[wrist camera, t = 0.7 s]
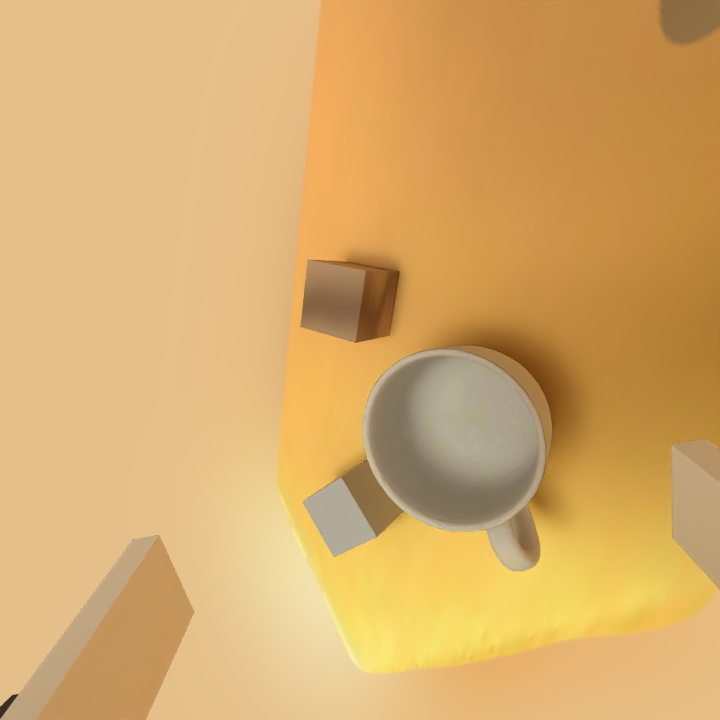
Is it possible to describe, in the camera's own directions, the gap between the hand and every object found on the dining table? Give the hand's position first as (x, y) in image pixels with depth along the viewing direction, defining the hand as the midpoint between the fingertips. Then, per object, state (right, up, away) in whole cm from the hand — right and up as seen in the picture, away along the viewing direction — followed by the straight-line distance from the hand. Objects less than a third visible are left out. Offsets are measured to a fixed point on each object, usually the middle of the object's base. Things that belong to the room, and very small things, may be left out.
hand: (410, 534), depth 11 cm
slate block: (0, -7, +27) cm, 28 cm away
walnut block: (-1, +10, +24) cm, 26 cm away
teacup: (+8, 0, +20) cm, 22 cm away
